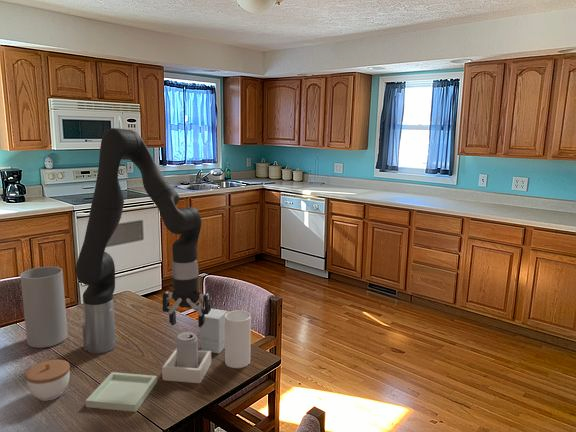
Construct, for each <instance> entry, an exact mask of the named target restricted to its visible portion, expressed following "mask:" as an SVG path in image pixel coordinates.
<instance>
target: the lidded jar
mask: <svg viewBox="0 0 576 432" xmlns="http://www.w3.org/2000/svg"><path fill="white" fill-rule="evenodd" d="M70 371H71V366H70V363H69V361H66V360H64V359H49V360H44V361H42V362H39V363H37V364H34V365H33V366H31V367H30V368H29V369H27V371H26V372H25V379H26V384H27V388H28V391H29V392H30V394H31V395H32V396H34V398H36V399H38V400H39V401H43V402H47V401H53V400H55V399H56V398H57V399H58V398H59V397H61V396H62V394H63V392H65V390H66V389H67V387H68V386H69V382H70V377H71V372H70Z"/></svg>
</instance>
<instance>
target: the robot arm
mask: <svg viewBox="0 0 576 432" xmlns="http://www.w3.org/2000/svg"><path fill="white" fill-rule="evenodd" d="M123 160H125V161H126V160H127V161H129V160H130V162H132V163H133V164H134V165H135V167H137V169H139V171H140V174H141V178H142V180H141V181H142V185H143V188H144V190H145V192H146V193H147V196H148V197H149V198H150V199H151V201H152V202H153V203H154V205H155V206H156V207H157V210H158V211H159V214H160V216H161V220H162V222H163V224H164V226H165V228H166V229H167V230H168V231H169V232H171V234H173V235H180V236H179V238H178V239H176V240H175V241H174V242H173V243H172V247H171V249H172V250H171V251H172V265H171V266H172V267H171V270H172V271H171V273H172V291H173V292H171V291H170V290H168V289H167V290H165V292H163V293H162V312H163V313H167V314H168V318H169V319H168V320H169V321H168V322H169V324H170V325H171V326H175V325H176V323H177V315H176V314H177V313H176V309H177V308H178V307H180V309H181V308H183V309H184V308H188V309H191V308H192V310H194V312H196V313H197V314H198V318H197V319H198V321H197V322H198V328H200V327H202V325H203V324H204V323H205V314H208V313H209V312H210V310H211V297H210V293H209V292H206V293H200V290H199V289H200V287H199V286H200V285H199V284H200V283H199V282H200V281H199V274H200V272H199V271H200V270H199V264H198V248H197V247H198V242H199V237H200V235H201V234H200V233H201V229H202V217H201V214H200V212H199V210H198V209H197V208H196V207H192V206H188V207H183V208H182V207H181V208H178V207H177V205H178V203H179V202H180V196H179V194H178V192H177V191H176V190H175V188H174V187H173V186H172V185H171V183H170V182H169V180H167V178H166V176H164V174H163V173H162V171H161V170H160V168H159V166H158V164H157V163H156V161H155V159H154V157H153V156H152V154H151V152H150V150H149V148H148V147H147V145H146V143H145V141H144V140H143V137H142V136H141V135H140V134H139V133H138V132H137V131H135V130H132V129H127V128H125V129H124V128H114V127H113V128H112V127H111V128H109V129H106V131H104V133H103V136H102V137H101V141H100V150H99V157H98V167H97V168H98V169H97V174H96V175H97V176H96V181H95V186H94V192H93V196H92V201H91V204H90V205H91V206H90V210H89V216H88V220H87V225H86V230H85V235H84V239H83V243H82V247H81V249H80V252H79V255H78V258H77V262H76V264H75V275H76V277H77V280H78V281H79V282H80V283H81V284H83V285H86V286H87V288H86V289H85V290H84V292H83V294H82V302H83V305H82V306H83V316H84V322H83V323H82V324H81V329H82V341H83V342H82V343H83V351H86V352H88V353H89V354H96V355H97V354H104V353H108V352H110V351H112V350H114V348H115V347H117V338H116V321H115V307H114V306H115V305H114V304H115V303H114V292H115V289H116V268H115V267H116V265H115V260H114V259H113V257H112V256H111V254H109V253H108V252H106V251H105V250H106V247H107V245H108V243H109V241H110V239H111V238H112V237H113V235H114V233H115V231H116V229H118V226H119V224H120V221H121V219H122V214H123V210H124V209H123V208H124V205H125V198H124V194H123V191H122V187H121V185H120V183H119V182H120V181H119V168H120V164H121V161H123ZM171 298H172V300H174V302H175V303H174V304H173V305H172V306H170V300H171ZM200 299H201V302H203V306H202V303H201V302H200Z"/></svg>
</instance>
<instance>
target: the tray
mask: <svg viewBox="0 0 576 432" xmlns="http://www.w3.org/2000/svg"><path fill="white" fill-rule="evenodd" d="M157 383H158V376H157V375H149V374H140V373H139V374H137V373H125V372H116V371H115V372H114V371H112V372H111V373H110V374H108V375H107V377H106V378H105V379H104V380H103V381H102V382H101V383H100V384H99V386H98V387H96V388H95V390H93V392H91V394H90V395H89V396H88V397H87V398H86V399H85V407H86V408H91V409H92V408H93V409H102V410H114V411H123V412H133V413H136V412H137V411H138V410H139V408H140V407H141V405H143V403H144V401H145V400H146V398H147V397H148V396H149V394H150V393H151V391H152V390H153V389H154V388H155V386H156V385H157Z"/></svg>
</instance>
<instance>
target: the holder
mask: <svg viewBox="0 0 576 432" xmlns="http://www.w3.org/2000/svg"><path fill="white" fill-rule="evenodd" d="M211 364H212V352H211V351H205V350H201V349H198V368H187V367H177V347H176V348H175V349H174V350H173V352H172V353H171V354H170V356H169V357H168V359H166V362H164V364H163V365H162V367H161V371H162V374H161V375H162V381H168V382H169V381H170V382H181V383H193V384H201V382H202V381H203V379H204V377H205V375H206V373H207V372H208V370H209V368H210V366H211Z"/></svg>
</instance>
